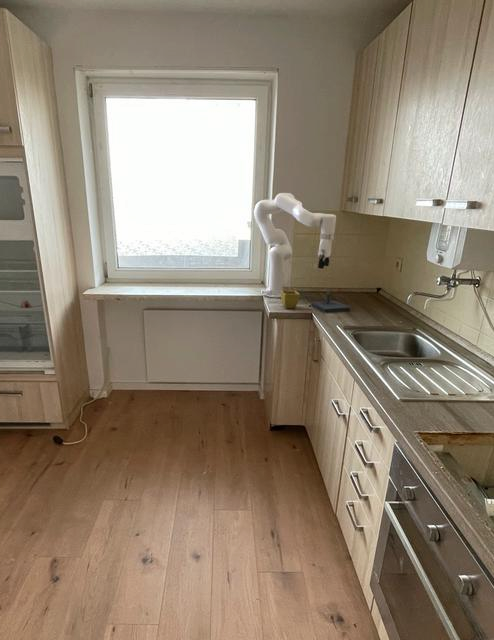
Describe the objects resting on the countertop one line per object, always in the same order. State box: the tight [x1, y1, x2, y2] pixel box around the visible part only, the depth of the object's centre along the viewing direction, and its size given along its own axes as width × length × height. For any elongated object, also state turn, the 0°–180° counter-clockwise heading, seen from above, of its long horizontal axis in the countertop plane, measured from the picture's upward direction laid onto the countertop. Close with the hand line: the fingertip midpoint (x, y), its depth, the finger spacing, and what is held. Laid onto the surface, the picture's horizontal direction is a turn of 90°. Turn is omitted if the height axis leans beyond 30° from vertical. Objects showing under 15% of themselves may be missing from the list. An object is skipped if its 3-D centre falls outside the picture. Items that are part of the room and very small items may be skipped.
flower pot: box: [280, 290, 301, 309], centre depth 242 cm, size 9×9×9 cm
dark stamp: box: [319, 292, 334, 305], centre depth 245 cm, size 6×6×8 cm
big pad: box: [311, 300, 351, 313], centre depth 243 cm, size 16×16×2 cm
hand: (323, 267), depth 245 cm, fingers open, 9 cm apart
